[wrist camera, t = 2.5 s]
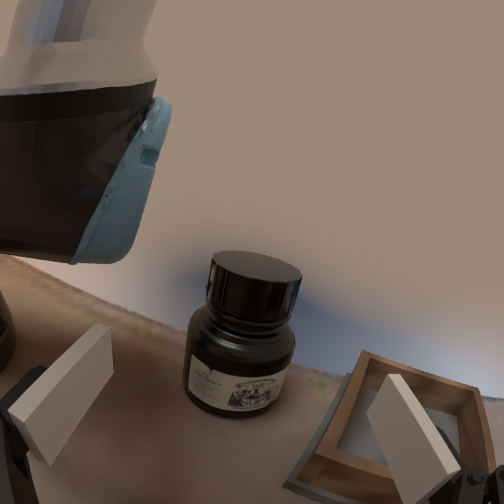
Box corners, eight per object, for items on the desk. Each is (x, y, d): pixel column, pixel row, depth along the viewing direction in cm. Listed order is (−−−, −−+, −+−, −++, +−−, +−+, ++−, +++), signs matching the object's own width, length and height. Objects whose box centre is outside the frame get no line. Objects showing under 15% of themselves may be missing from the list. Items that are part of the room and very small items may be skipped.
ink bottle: (182, 422, 18) (198, 281, 15) (174, 356, 26) (187, 240, 23) (295, 414, 21) (343, 292, 18) (263, 357, 29) (291, 254, 26)
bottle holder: (282, 486, 13) (304, 454, 12) (343, 379, 27) (358, 346, 26) (462, 528, 6) (503, 498, 5) (460, 417, 19) (480, 386, 18)
